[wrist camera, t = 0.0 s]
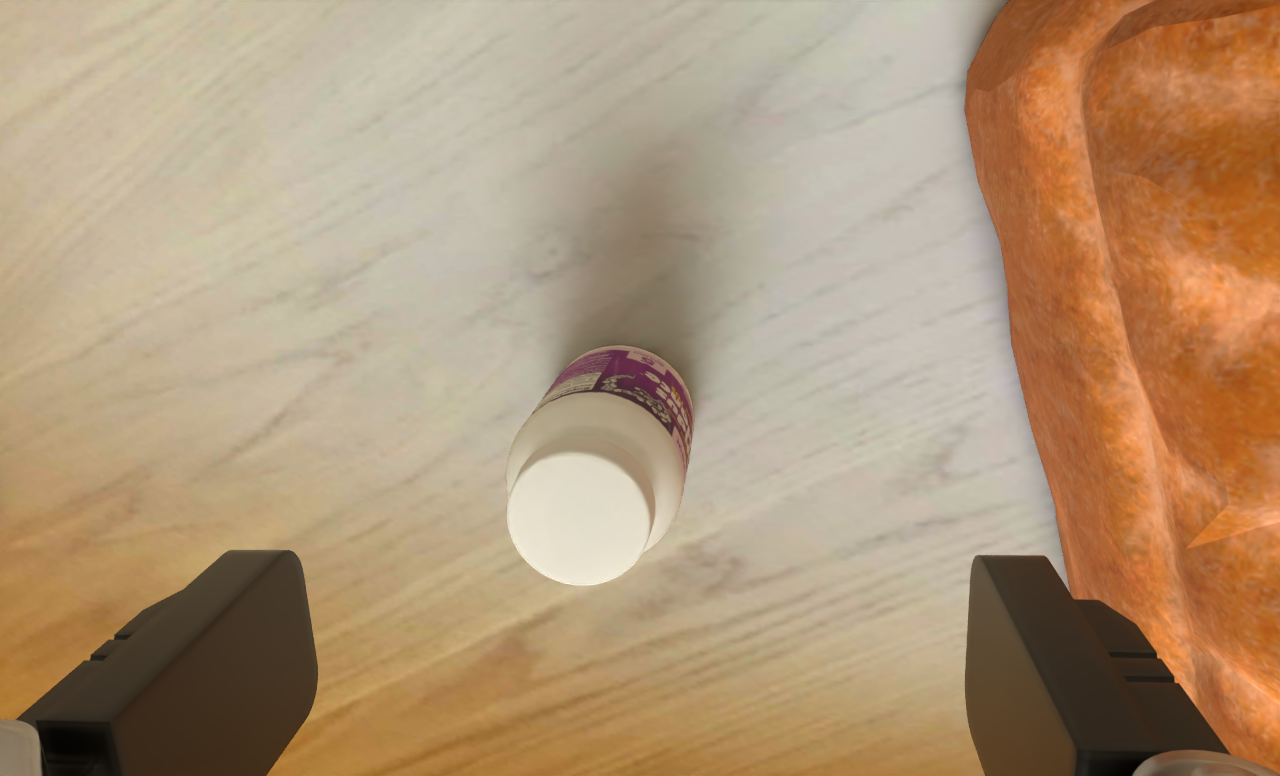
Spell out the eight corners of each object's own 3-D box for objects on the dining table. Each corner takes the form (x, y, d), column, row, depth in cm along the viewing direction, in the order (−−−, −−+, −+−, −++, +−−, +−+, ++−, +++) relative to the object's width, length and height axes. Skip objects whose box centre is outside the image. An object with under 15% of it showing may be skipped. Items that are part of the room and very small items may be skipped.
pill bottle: (726, 429, 36) (718, 547, 27) (609, 507, 37) (564, 645, 28) (635, 310, 35) (594, 388, 26) (519, 394, 36) (441, 498, 27)
